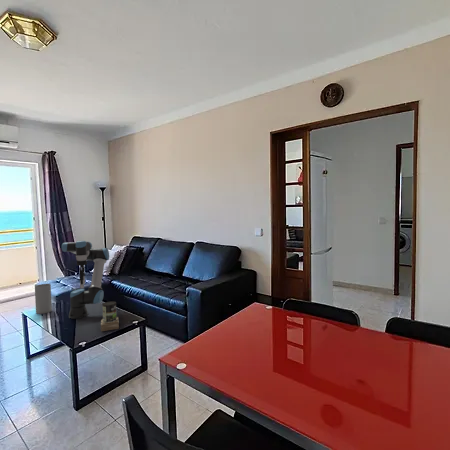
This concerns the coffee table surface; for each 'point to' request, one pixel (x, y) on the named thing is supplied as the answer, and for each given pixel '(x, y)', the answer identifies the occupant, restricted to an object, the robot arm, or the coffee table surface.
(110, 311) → the coffee can
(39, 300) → the cylinder vase
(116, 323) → the beech block
